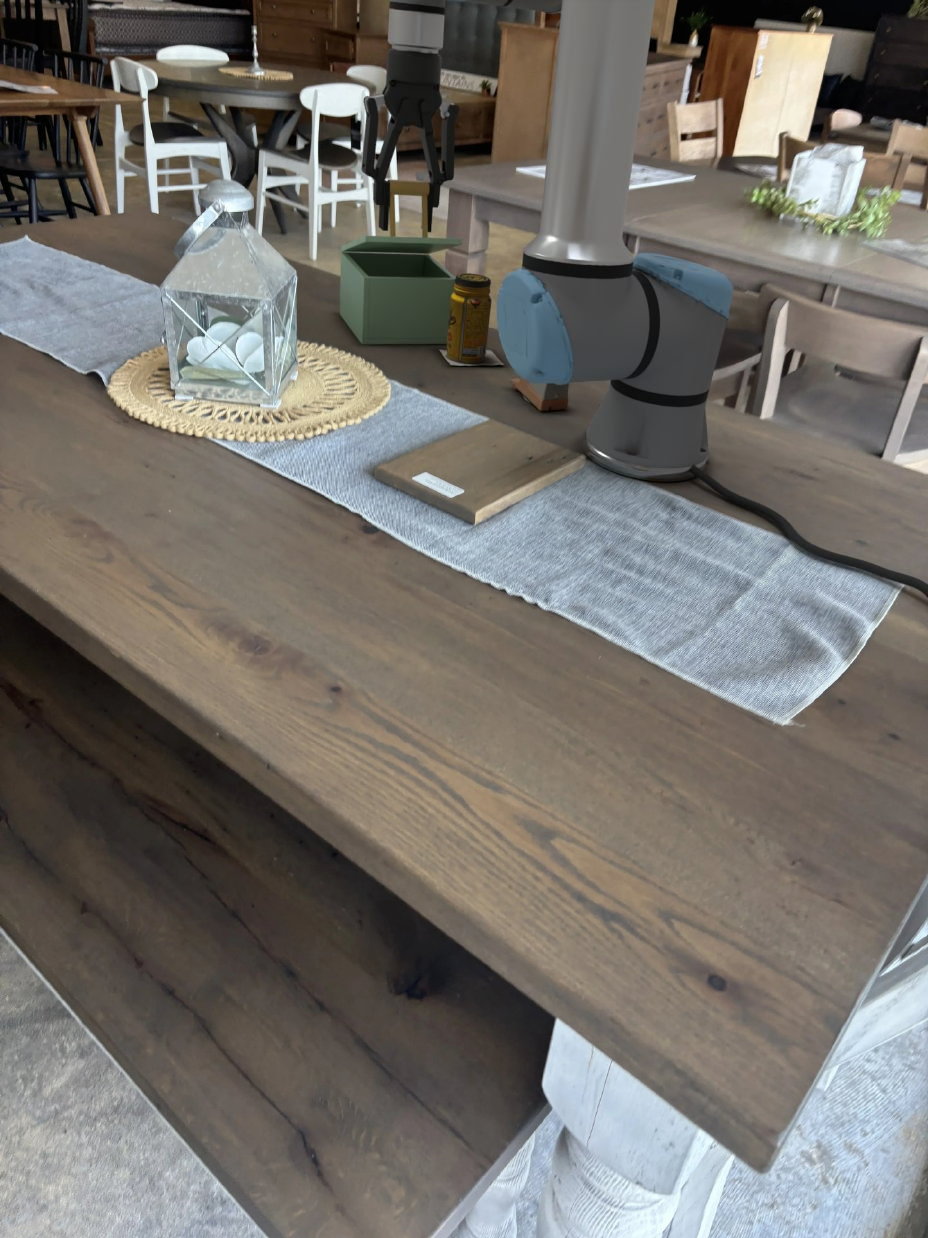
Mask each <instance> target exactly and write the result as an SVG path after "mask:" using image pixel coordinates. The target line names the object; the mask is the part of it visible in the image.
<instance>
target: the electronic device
mask: <svg viewBox="0 0 928 1238" xmlns="http://www.w3.org/2000/svg"><path fill="white" fill-rule="evenodd" d="M509 382H510V383H511V384H512V389H513V391H516V392H517V391H518V392H519V393H521V394H522V397H523V399H524V400H525V401H526V402H528V403H529V404H532V405H533V406H535V408H536V409H538V411H539V412H550V411H557V410H558V411H560V410H561V411H563V410H564V411H565V410H567V409H568V407H569V385H570V383H567V384H564V385H557V384H554V383H531V382H528V381H526V380H524V379H523V378H521V377H519V378H517V377H516V378H510V380H509Z"/></svg>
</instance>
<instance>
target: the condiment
mask: <svg viewBox="0 0 928 1238" xmlns="http://www.w3.org/2000/svg"><path fill="white" fill-rule="evenodd" d="M455 277H456V278H455V287H454V290H455V291H454V293H453V294H452V295H451V301H450V303H451V304H450V315H449V326H448V337H447V344H446V349H438V350H439V352H440V353H441V355H442V357H443V358H444V359H445V360H446V361H447V362H448V364H449V365H450V366H459V367H460V366H462V367H463V366H466V367H467V366H468V367H472V366H473V367H474V366H475V367H476V366H498V365H499V366H505V363H503V362H502V361H501V360H500V359H499V358H498V357H497V355H496V354H495V353H494V352H493V351H492V349H487V347H488V337H489V329H490V327H489V326H490V318H491V311H492V310H491V309H492V297H491V296H490V293H491V285H492V281H491V278H489V277H488V276H486V275H482V274H479V273H471V272H467V273H466V272H465V273H459V274H457V275H456V276H455Z"/></svg>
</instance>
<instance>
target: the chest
mask: <svg viewBox="0 0 928 1238" xmlns="http://www.w3.org/2000/svg"><path fill="white" fill-rule="evenodd" d="M339 277H340V279H339V281H340V282H339V284H340V285H339V315H340V317H341V318H342V320H343V321H344V323H345V324H346V325H347V326H348V328H349V329H350V330H351V331H352V333H353V335H354V336H355V337H356V338H357V340H358V342H359V343H360V344H361V345H447V337H448V326H449V315H450V304H451V303H450V301H451V295H452V294H453V293H454V291H455V290H454V287H455V278H456V276H455V275H454V274H453V273H451V272H450V271H449V270H448V269H447V268H445V267H444V266H443V265H442V264H441V263H440V262H438V261H437V260H436V259H435V258H434V257H432V256H431V255H430V254H413V253H376V252H341V251H340V275H339Z"/></svg>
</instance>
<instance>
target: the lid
mask: <svg viewBox="0 0 928 1238" xmlns="http://www.w3.org/2000/svg"><path fill="white" fill-rule="evenodd" d="M387 181H388V182H389V183H390V199H389V236H387V235H386V236H385V235H364V236H362V237H359V238H357V239H354V240H352V241H350V242H348V243H345V244H343V245H341V246H340V253H341V252H359V253H397V254H429V255H430V254H433V253H438V252H441V251H444V250H448V249H451V248H454V247H455V248H456V247H459V246H462V245H463V238H451V237H449V238H447V237H446V238H445V237H429V232H428V218H427V196H428V195H429V183H428V182H429V181H428V180H427V181H426V180H424V181H423V180H407V179H390V178H389V179H387ZM395 196H413V197H421V226H422V229H421V236H420V237H418V236H417V237H416V236H415V237H414V236H396V200H395V199H396V197H395Z"/></svg>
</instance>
